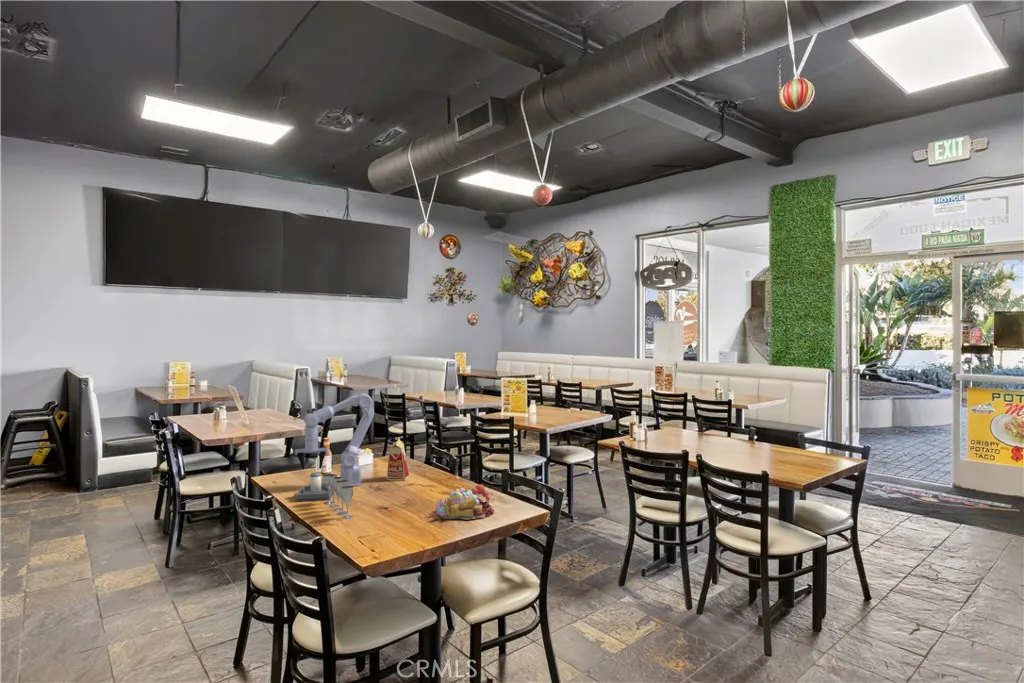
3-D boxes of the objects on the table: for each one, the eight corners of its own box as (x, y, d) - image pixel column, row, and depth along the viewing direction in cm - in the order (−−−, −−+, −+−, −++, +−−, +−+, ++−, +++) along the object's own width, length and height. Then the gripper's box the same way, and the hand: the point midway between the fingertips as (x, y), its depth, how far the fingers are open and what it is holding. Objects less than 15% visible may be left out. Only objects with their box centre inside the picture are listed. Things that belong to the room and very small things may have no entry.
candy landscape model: (498, 520, 211) (498, 496, 211) (436, 523, 207) (436, 499, 207) (489, 500, 235) (489, 479, 235) (434, 503, 231) (434, 482, 231)
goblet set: (356, 517, 214) (356, 483, 214) (342, 520, 211) (341, 486, 210) (334, 500, 237) (333, 469, 236) (320, 502, 233) (320, 471, 233)
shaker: (319, 491, 246) (319, 471, 246) (322, 493, 242) (322, 473, 242) (309, 493, 243) (308, 473, 243) (312, 495, 239) (312, 475, 239)
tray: (334, 490, 250) (334, 484, 250) (329, 499, 237) (329, 493, 237) (302, 492, 248) (302, 485, 248) (296, 501, 234) (295, 494, 234)
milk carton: (392, 476, 276) (392, 436, 276) (409, 476, 275) (409, 437, 275) (385, 480, 267) (385, 440, 267) (403, 481, 266) (403, 440, 266)
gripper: (329, 437, 259) (329, 465, 260) (297, 438, 257) (297, 467, 257) (326, 440, 252) (327, 469, 253) (293, 441, 250) (294, 470, 250)
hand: (311, 468), depth 254 cm, fingers open, 7 cm apart
